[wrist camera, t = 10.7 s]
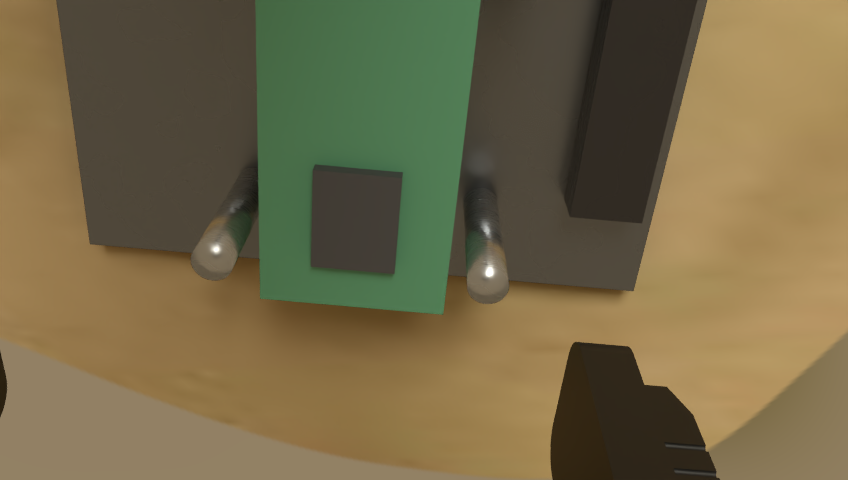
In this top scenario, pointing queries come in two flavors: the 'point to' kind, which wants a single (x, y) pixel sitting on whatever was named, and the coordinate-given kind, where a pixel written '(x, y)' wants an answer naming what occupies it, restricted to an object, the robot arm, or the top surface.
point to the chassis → (482, 150)
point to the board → (361, 148)
